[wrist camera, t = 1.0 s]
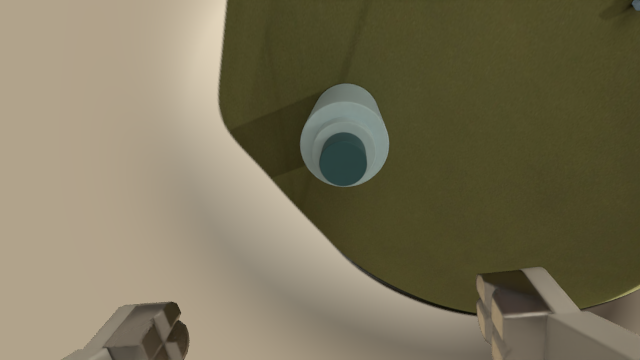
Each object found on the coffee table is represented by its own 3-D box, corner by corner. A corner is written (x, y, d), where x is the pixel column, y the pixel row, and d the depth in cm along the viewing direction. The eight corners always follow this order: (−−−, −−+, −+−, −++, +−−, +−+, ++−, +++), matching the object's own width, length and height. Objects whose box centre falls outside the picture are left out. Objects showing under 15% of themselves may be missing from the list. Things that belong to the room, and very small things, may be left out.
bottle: (308, 89, 30) (282, 121, 19) (374, 78, 30) (389, 104, 18) (319, 152, 32) (302, 216, 21) (382, 143, 32) (400, 204, 20)
